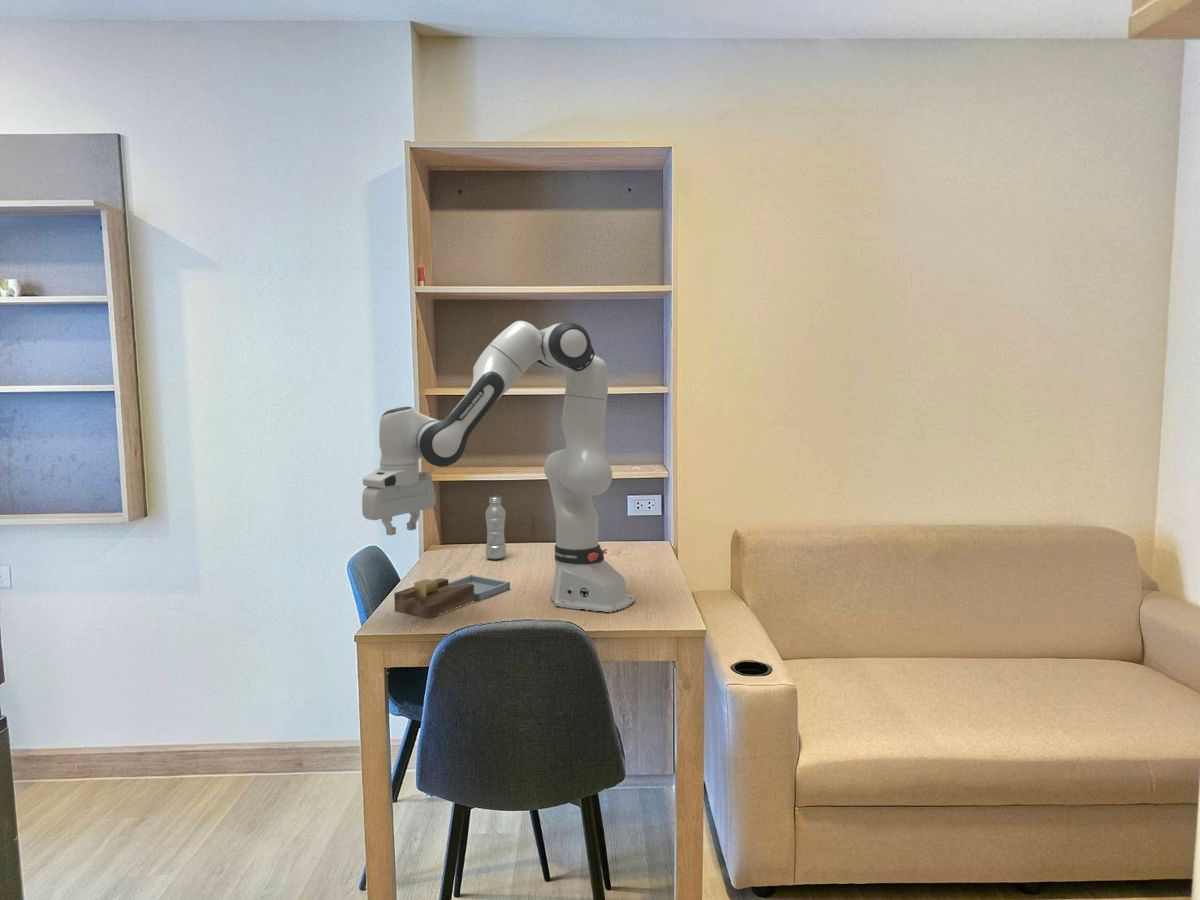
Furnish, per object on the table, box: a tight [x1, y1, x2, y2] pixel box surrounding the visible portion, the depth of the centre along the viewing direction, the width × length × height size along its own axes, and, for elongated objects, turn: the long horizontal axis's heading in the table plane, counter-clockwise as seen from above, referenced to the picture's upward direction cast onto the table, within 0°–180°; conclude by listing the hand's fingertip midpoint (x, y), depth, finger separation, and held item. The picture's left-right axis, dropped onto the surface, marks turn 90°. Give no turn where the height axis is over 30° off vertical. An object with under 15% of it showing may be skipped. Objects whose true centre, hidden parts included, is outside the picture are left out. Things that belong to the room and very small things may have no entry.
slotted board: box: [393, 577, 475, 619], centre depth 189 cm, size 12×16×4 cm
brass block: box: [413, 578, 438, 599], centre depth 186 cm, size 4×4×4 cm
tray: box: [448, 574, 511, 602], centre depth 202 cm, size 14×13×2 cm
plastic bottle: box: [484, 495, 507, 560], centre depth 236 cm, size 6×7×20 cm
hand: (401, 532), depth 178 cm, fingers open, 5 cm apart
